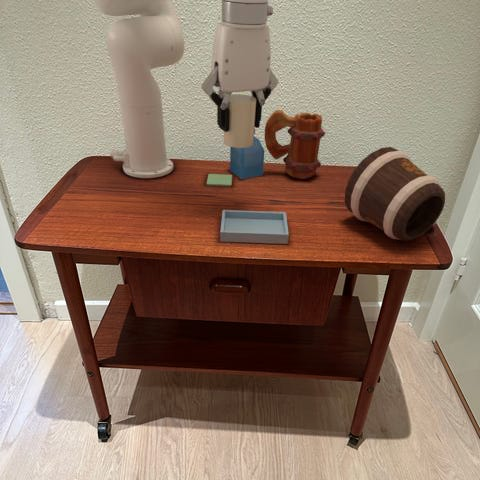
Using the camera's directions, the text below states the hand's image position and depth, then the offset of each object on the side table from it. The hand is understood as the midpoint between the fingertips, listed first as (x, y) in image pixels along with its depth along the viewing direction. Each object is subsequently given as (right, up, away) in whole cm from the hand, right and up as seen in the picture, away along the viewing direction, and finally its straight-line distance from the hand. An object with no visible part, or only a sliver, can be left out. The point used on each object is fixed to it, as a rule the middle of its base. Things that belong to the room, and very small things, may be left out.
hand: (239, 126), depth 83 cm
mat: (-5, -3, +22) cm, 23 cm away
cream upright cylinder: (0, -2, +2) cm, 3 cm away
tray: (+3, -20, +4) cm, 20 cm away
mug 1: (+13, -1, +26) cm, 29 cm away
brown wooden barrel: (+29, -9, +7) cm, 31 cm away
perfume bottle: (+2, 0, +26) cm, 26 cm away
